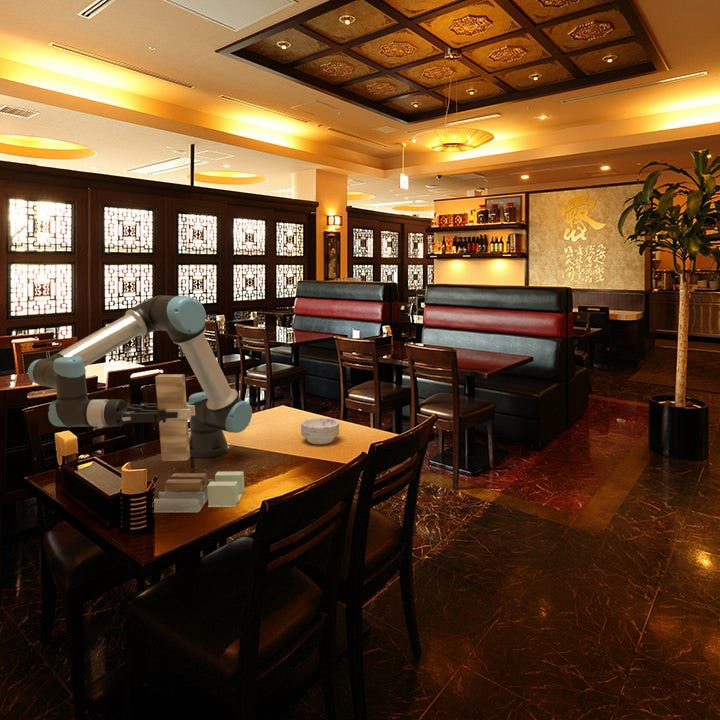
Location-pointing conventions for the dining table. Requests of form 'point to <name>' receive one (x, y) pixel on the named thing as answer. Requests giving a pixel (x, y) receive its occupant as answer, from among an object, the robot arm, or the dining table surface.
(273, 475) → the dining table surface
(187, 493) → the offcut rack
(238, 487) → the slot holder
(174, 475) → the offcut
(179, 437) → the tall board
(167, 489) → the block
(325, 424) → the white bowl
